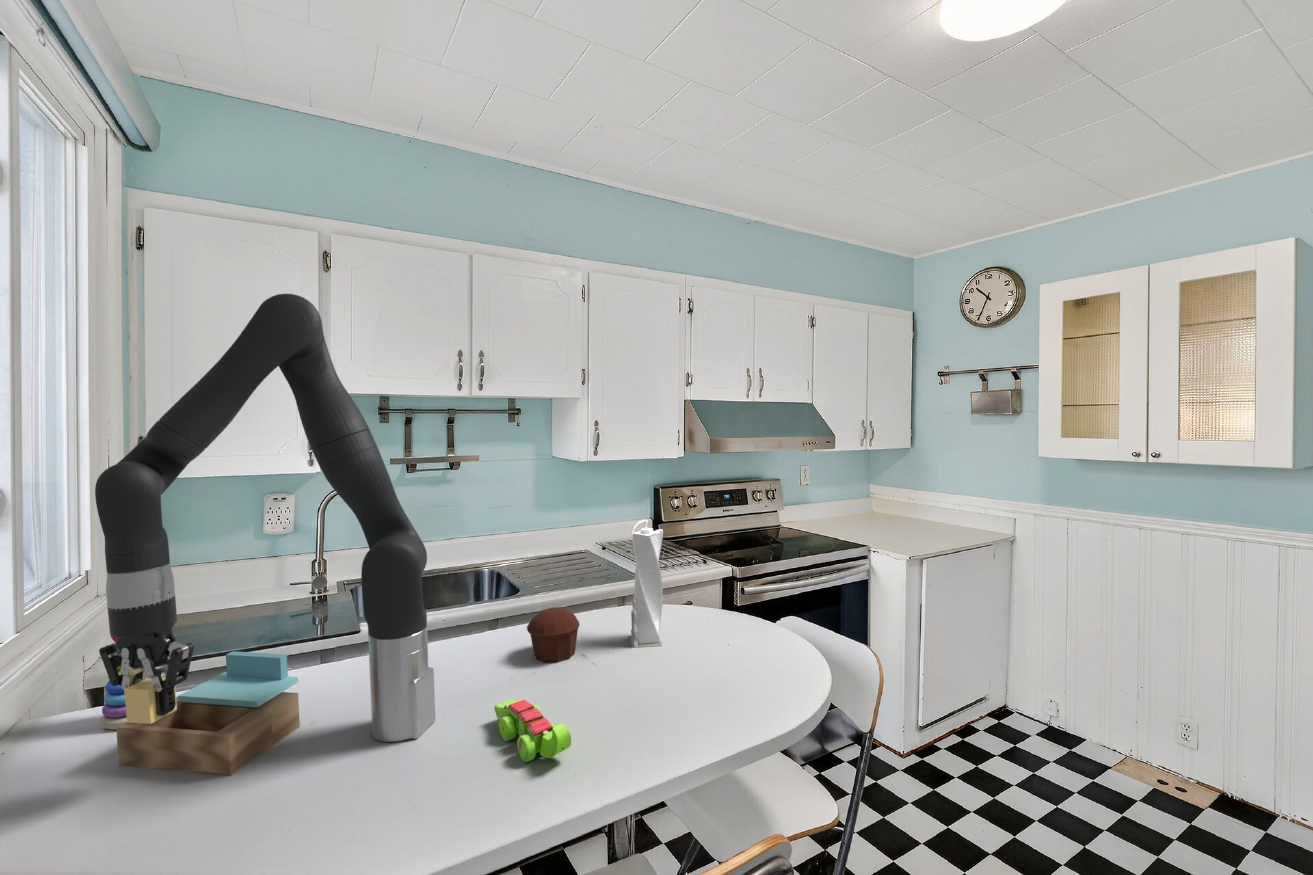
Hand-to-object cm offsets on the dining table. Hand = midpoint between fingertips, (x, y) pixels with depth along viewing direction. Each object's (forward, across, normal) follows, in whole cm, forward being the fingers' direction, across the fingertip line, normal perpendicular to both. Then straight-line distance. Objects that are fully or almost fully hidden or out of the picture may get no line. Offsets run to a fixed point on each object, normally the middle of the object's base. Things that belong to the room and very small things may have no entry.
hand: (152, 711), depth 89 cm
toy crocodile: (+12, -51, -17) cm, 55 cm away
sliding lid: (+5, 0, -16) cm, 16 cm away
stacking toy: (+11, +23, -15) cm, 29 cm away
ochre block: (+1, 0, 0) cm, 1 cm away
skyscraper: (+13, -63, -62) cm, 90 cm away
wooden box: (+11, +1, -10) cm, 15 cm away
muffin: (+12, -44, -52) cm, 69 cm away
